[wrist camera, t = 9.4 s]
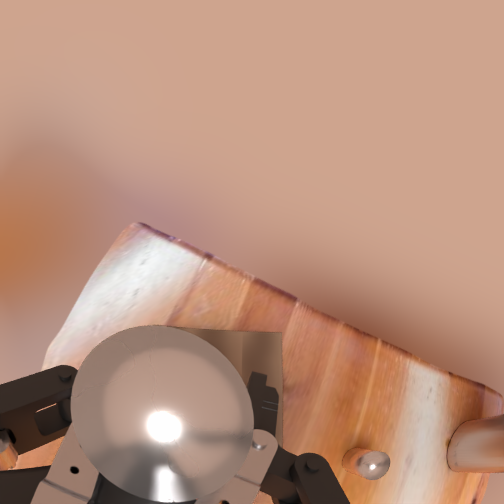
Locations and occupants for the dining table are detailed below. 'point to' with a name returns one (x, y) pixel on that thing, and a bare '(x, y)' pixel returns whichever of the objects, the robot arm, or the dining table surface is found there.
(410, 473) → the dining table surface
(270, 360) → the block
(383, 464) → the short pin
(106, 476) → the long pin
